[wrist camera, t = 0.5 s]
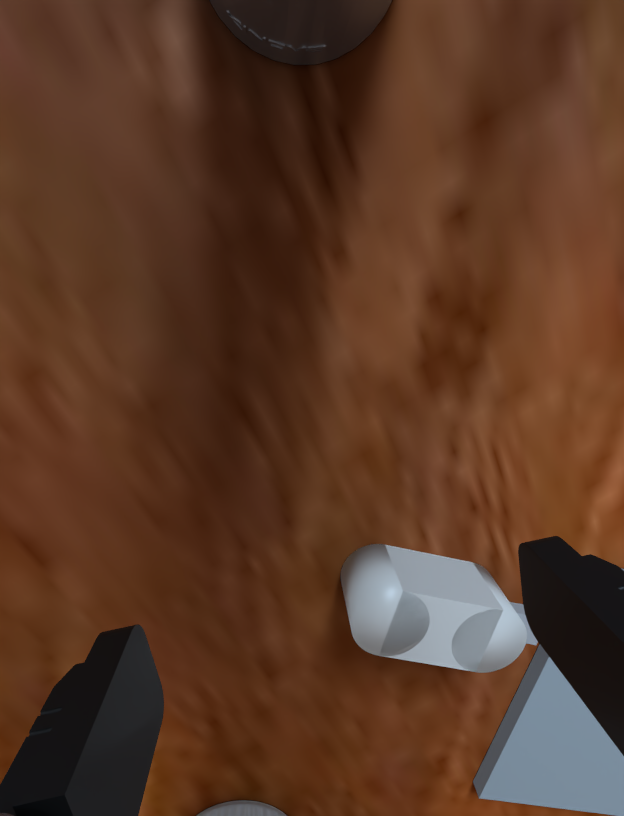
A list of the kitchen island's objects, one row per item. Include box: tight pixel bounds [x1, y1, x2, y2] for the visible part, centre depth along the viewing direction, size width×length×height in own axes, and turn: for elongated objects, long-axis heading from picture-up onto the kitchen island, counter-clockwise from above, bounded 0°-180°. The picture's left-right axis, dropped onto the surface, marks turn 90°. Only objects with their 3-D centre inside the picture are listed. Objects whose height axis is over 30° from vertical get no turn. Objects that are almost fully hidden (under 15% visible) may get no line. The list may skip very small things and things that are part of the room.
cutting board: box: [473, 568, 624, 816], centre depth 36 cm, size 20×14×1 cm
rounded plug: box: [340, 544, 538, 673], centre depth 30 cm, size 4×13×4 cm, turn 74°
